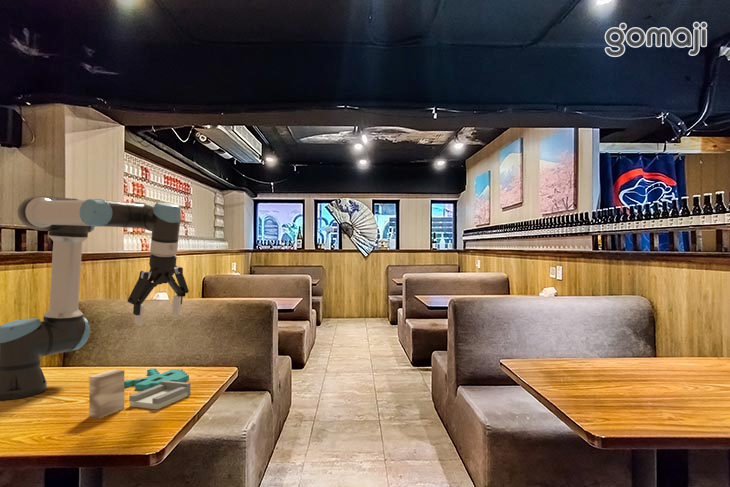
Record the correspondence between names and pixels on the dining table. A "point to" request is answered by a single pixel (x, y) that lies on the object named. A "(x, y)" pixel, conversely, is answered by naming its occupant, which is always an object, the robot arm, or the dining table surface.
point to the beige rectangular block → (106, 393)
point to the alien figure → (157, 379)
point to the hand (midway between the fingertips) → (157, 319)
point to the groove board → (152, 406)
